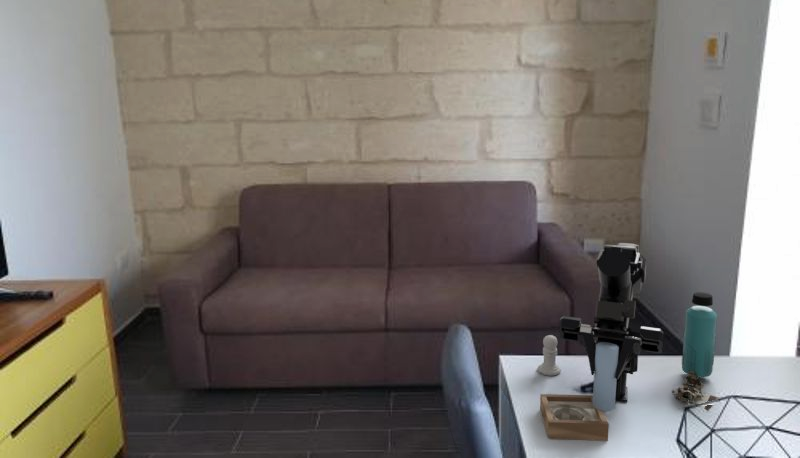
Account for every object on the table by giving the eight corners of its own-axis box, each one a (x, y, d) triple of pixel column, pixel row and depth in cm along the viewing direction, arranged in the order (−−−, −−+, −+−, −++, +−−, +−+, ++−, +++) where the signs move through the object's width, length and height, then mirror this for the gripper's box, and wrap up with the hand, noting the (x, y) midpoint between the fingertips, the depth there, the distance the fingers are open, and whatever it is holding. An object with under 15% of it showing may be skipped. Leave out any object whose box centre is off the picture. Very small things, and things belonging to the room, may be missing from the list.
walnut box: (540, 409, 125) (540, 394, 124) (594, 410, 124) (595, 395, 123) (548, 438, 114) (549, 422, 113) (607, 440, 113) (608, 423, 112)
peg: (595, 398, 117) (599, 340, 114) (617, 403, 115) (621, 345, 112) (589, 407, 114) (593, 347, 111) (611, 412, 111) (615, 352, 109)
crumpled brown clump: (669, 411, 122) (656, 370, 131) (668, 431, 126) (655, 389, 134) (733, 408, 120) (715, 366, 128) (730, 428, 123) (712, 386, 132)
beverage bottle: (717, 383, 134) (726, 298, 130) (687, 384, 135) (695, 298, 130) (703, 370, 141) (711, 289, 137) (674, 371, 141) (681, 289, 137)
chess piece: (558, 378, 139) (559, 341, 137) (535, 373, 141) (536, 337, 139) (562, 368, 143) (564, 333, 141) (540, 364, 145) (541, 329, 144)
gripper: (561, 276, 116) (548, 351, 109) (667, 287, 109) (660, 369, 101) (567, 302, 125) (555, 373, 118) (664, 314, 117) (658, 391, 110)
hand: (604, 376), depth 111 cm, fingers closed on peg, 4 cm apart
